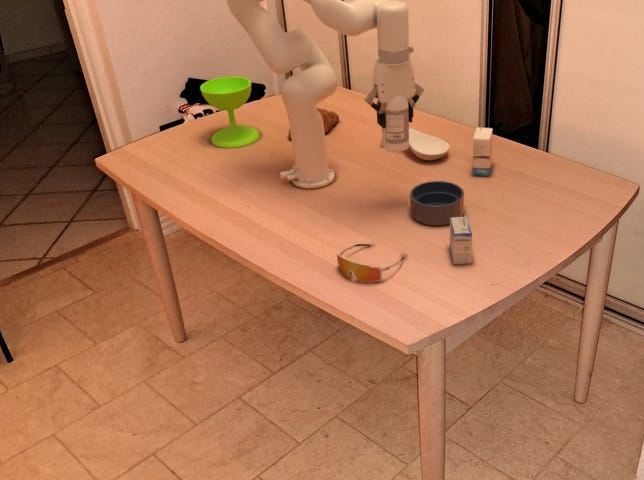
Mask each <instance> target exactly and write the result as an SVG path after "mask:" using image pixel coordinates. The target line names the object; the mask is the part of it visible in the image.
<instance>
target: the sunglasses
mask: <svg viewBox="0 0 644 480" xmlns="http://www.w3.org/2000/svg"><path fill="white" fill-rule="evenodd" d="M371 246H372V244H371V243H366V242H365V243H363V242H362V243H361V242H360V243H354V244H352V245H350V246H347V247H345V248H344V249H341V251H339V252H338V253H337V254H336V258H337V264H338V267H339V269H340V271H341V273H342V275H344V276H345V277H347V278H350V277H351V276H352V274H353V275H354V277H355V279H356V280H357V281H358V282H360V283H375V282H379V281H381V280H382V278H383V273H384V272H386V271H389V270H390V269H391V268H393V267H395V266H397V265H398V264H400V263H401V261H402V260H403V259H404V258H405V254H402V256H401V257H400V258H399V259H398V260H396V261H395V262H393V263H391V264H389V265H386V266H382V267H381V266H374V265H370V264H367V263H360V262H358V261H354V260H351V259H349V258H347V257H344V256H343V254H344V253H345V252H346V251H348V250H349V251H350V250H351V249H354V248H357V247H371Z"/></svg>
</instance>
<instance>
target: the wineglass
mask: <svg viewBox="0 0 644 480" xmlns="http://www.w3.org/2000/svg"><path fill="white" fill-rule="evenodd" d="M199 90H200V92H201V95H202V97H203V98H204V100H205V101H206V102H207V103H208V104H209V105H211V107H212V108H215V109H217V110H220V111H227V115H228V120H229V127H228V126H227V127H225V128H222V129H219V130H217V131H216V132H215V133H213V135H212V136H211V138H210V143H211V144H212V145H214V146H216V147H219V148H226V149H227V148H228V149H229V148H232V149H233V148H234V149H235V148H240V147H245V146H249V145H251V144H253V143H254V142H257V140H259V139H260V137H261V134H260V132H259V131H258V130H257V129H256V128H254V127H251V126H247V125H237V121H236V117H235V110H237V109H239V108H241V107H243V106H244V105H245V104H246V103H247V101H248V99H250V96H251V94H252V93H251V92H252V81H251V80H250V79H249V78H247V77H244V76H243V77H242V76H222V77H216V78H213V79H209V80H207V81H205V82H203V83H202V84H201V85H200V88H199Z"/></svg>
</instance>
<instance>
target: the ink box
mask: <svg viewBox="0 0 644 480" xmlns="http://www.w3.org/2000/svg"><path fill="white" fill-rule="evenodd" d="M493 130H494V129H493V128H492V127H480V126H479V127H476V128H475V132H474V133H473V138H472V176H476V177H477V176H480V177H490V173H491V170H492V165H493V164H492V163H493V161H492V160H493Z"/></svg>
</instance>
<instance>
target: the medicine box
mask: <svg viewBox="0 0 644 480" xmlns="http://www.w3.org/2000/svg"><path fill="white" fill-rule="evenodd" d="M449 250H450V254H451V258H452V263H453V265H466V264H472V261H473V259H472V258H473V232H472V229H471V225H470V222H469V217H468V216H462V217H454V218H450V224H449Z"/></svg>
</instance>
